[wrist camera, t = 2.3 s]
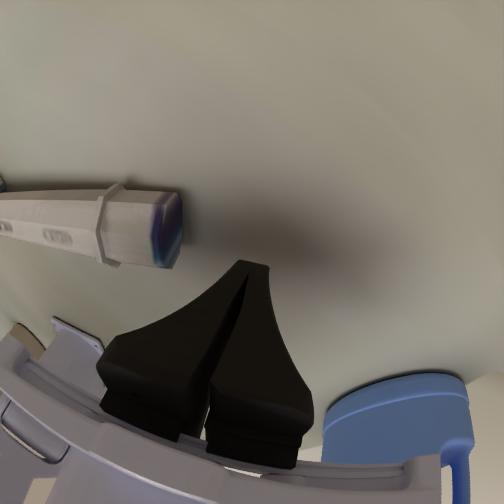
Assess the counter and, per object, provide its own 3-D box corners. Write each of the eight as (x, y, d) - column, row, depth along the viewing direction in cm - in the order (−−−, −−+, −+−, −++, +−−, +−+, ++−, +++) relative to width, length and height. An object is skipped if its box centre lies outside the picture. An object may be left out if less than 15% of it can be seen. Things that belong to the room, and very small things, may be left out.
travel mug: (34, 350, 38) (-10, 416, 23) (11, 319, 34) (-40, 387, 19) (54, 359, 36) (7, 435, 21) (29, 326, 32) (-27, 406, 17)
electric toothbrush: (165, 298, 14) (-50, 248, 14) (195, 232, 19) (-12, 214, 19) (154, 202, 11) (-66, 200, 11) (195, 158, 16) (-23, 170, 16)
